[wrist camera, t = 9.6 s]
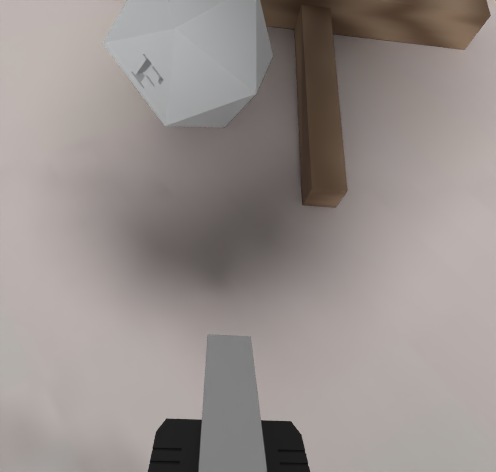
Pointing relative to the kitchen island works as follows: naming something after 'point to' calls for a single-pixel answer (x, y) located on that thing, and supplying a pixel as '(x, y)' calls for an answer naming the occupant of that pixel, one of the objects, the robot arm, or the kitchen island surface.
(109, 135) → the kitchen island surface
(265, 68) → the die
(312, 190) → the walnut T rail
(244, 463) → the robot arm
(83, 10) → the kitchen island surface
